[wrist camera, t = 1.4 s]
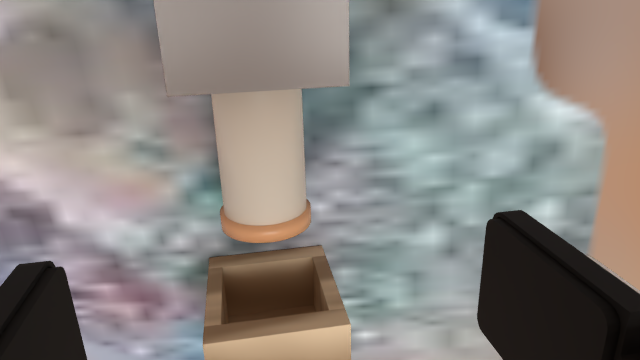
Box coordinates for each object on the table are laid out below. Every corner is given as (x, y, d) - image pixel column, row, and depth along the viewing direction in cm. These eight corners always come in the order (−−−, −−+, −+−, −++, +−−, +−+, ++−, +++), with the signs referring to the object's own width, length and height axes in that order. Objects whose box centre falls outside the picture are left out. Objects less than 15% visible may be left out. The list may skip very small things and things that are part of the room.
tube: (187, -102, 21) (177, -125, 17) (291, -101, 22) (305, -124, 18) (222, 207, 27) (220, 247, 22) (304, 200, 27) (317, 237, 23)
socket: (209, 257, 30) (202, 344, 22) (321, 245, 31) (350, 324, 23) (218, 330, 32) (215, 432, 24) (323, 317, 33) (351, 410, 25)
